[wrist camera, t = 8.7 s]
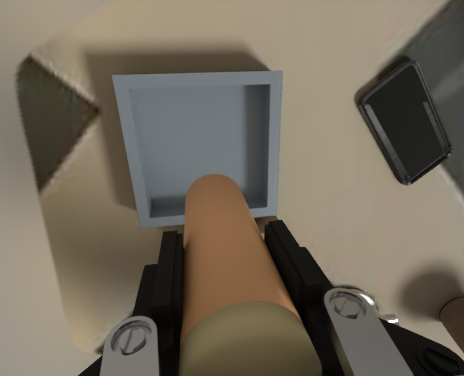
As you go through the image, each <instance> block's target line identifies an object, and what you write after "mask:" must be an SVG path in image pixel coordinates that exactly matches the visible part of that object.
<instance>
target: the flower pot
mask: <svg viewBox="0 0 464 376" xmlns="http://www.w3.org/2000/svg"><path fill="white" fill-rule="evenodd" d="M440 320H441V322H442V324H443V325H444V327H445V328H446V329H447V331H448V332H449V334H450V335H451V337H452V338H453V339H454V341H455V342H456V343H457V345H458V346H459V347H460V349H461V350H462V351H463V353H464V298H458V299H455V300H453V301H451V302H449V303H448V304H447V305H446V306H445V307H444V308H443V309H442V311H441V313H440Z"/></svg>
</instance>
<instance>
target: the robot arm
mask: <svg viewBox="0 0 464 376" xmlns="http://www.w3.org/2000/svg"><path fill="white" fill-rule="evenodd" d="M264 241H265V244H266V246H267V248H268V250H269V252H270V254H271V256H272V259H273V261H274V263H275V265H276V267H277V269H278V272H279V274H280V276H281V278H282V280H283V282H284V284H285V287H286V289H287V291H288V293H289V295H290V297H291V299H292V302H293V304H294V306H295V308H296V310H297V312H298V314H299V317H300V319H301V321H302V323H303V325H304V327H305V329H306V332H307V334H308V336H309V338H310V340H311V342H312V345H313V347H314V349H315V351H316V353H317V355H318V357H319V360H320V363H321V367H322V376H464V361H463V360H462V359H461V358H460V357H459V356H458V355H457V354H456V353H454V352H453V351H452V350H450V349H449V348H447V347H445V346H443V345H441V344H439V343H437V342H435V341H432V340H430V339H428V338H425V337H423V336H421V335H418V334H416V333H414V332H412V331H409V330H407V329H405V328H402V327H401V326H400V325H399V324H398V323H397V317H396V316H395V315H394V314H387V315H383V316H382V315H380V314H378V312H377V309H376V305H375V303H374V301H373V300H372V299H371V297H370V296H369V295H368V294H366V293H365V292H363V291H361V290H356V289H346V288H334V287H333V286H332V284H331V283H330V281H329V280H328V279H327V277H326V276H325V274H324V273H323V271H322V270H321V268H320V267H319V266H318V264H317V263H316V261H315V260H314V258H313V257H312V256H311V254H310V253H309V251H308V250H307V249H306V248H305V247H300V246H299V245H298V243H297V242H296V240H295V239H294V237H293V236H292V234H291V233H290V231H289V230H288V228H287V227H286V225H285V224H284V222H283V221H282V220H275V221H269V223H268V224H267V225H265V227H264ZM183 272H184V244H183V236H182V233H181V234H177V231H167V232H163V237H162V243H161V249H160V254H159V260H158V264H152V265H145V267H144V270H143V274H142V278H141V282H140V286H139V290H138V294H137V299H136V303H135V307H134V311H133V315H132V317H131V318H128V319H125V320H124V321H122V322H120V323H119V324H117V325H116V326H115V327H114V328H113V329H112V330H111V332H110V333H109V335H108V336H107V339H106V342H105V346H104V352H103V355H102V356H101V357H100V358H99V359H97V360H96V361H95V362H94V363H93V364H91V365H90V366H89V367H88V368H87V369H85V370H84V371H83V372H82V373H81V374H80V375H78V376H179V358H180V334H181V328H182V302H183Z"/></svg>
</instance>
